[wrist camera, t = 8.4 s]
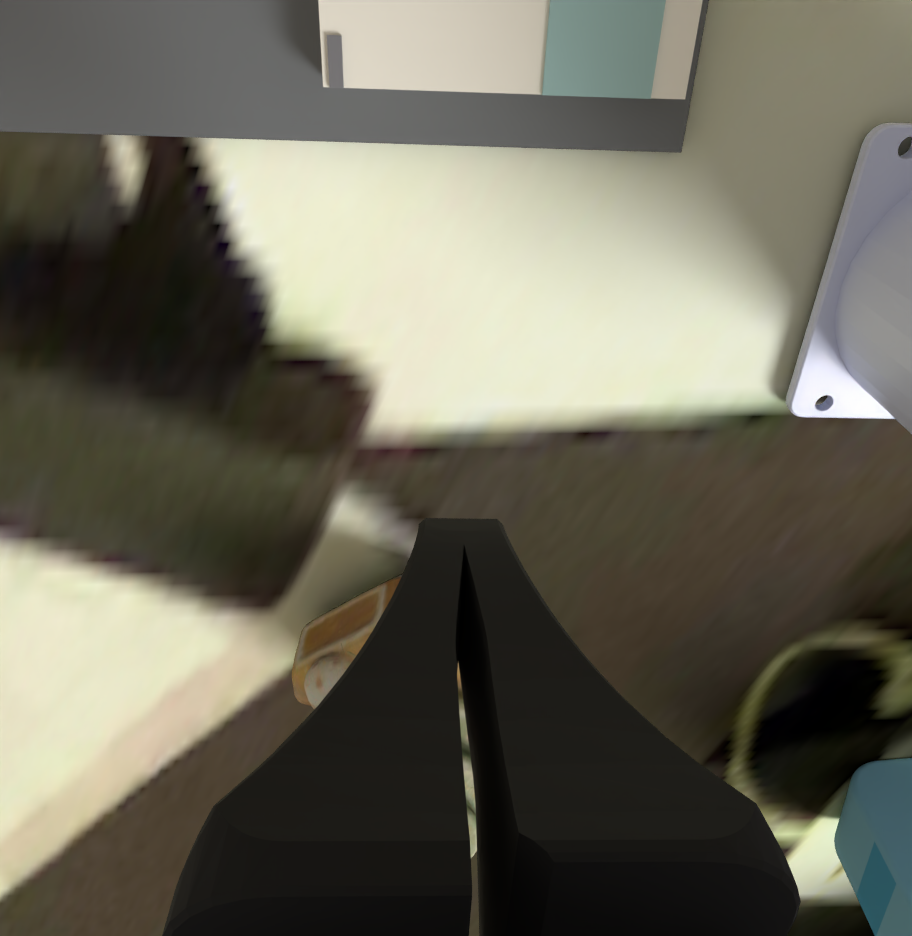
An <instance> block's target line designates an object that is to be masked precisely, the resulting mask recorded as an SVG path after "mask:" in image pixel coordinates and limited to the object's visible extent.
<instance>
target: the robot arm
mask: <svg viewBox="0 0 912 936" xmlns="http://www.w3.org/2000/svg"><path fill="white" fill-rule="evenodd" d="M907 137H911V139H912V123H884V124H880V125H878V126H876V127H875V128H873V129H872V130H871V131H870V132H869V133H868V134H867V135H866V137H865V139H864V141H863V143H862V146H861V149H860V152H859V156H858V159H857V162H856V166H855V169H854V172H853V176H852V179H851V182H850V186H849V189H848V192H847V196H846V199H845V202H844V206H843V209H842V212H841V216H840V219H839V222H838V226H837V229H836V232H835V236H834V239H833V242H832V246H831V249H830V252H829V256H828V259H827V263H826V266H825V269H824V273H823V276H822V279H821V283H820V286H819V289H818V293H817V296H816V299H815V303H814V306H813V309H812V313H811V316H810V319H809V323H808V326H807V329H806V333H805V336H804V339H803V343H802V346H801V349H800V353H799V356H798V359H797V363H796V366H795V369H794V373H793V376H792V379H791V383H790V386H789V389H788V393H787V396H786V405H787V407H788V409H789V410H790V411H791V412H792V413H793V414H794V415H796V416H799V417H820V418H876V419H896V420H897V421H898V422H899V423H900V424H901V425H902V426H903V427H905V428H906V429H907V430H908V431H909V432H910V433H911V434H912V142H911V146H910V148H909V150H908V151H907V152H906V153H905V154H903V155H901V156H899V155H898V147H899V145H900V144H901V142H902V141H903V140H904V139H906V138H907ZM825 395H827V399H826V400H825V401H824V402H823V403H822V404H819V405H815V403H816V401H817V400H818V399H819V398H820V397H822V396H825ZM458 663H459V671H460V679H461V687H462V695H463V703H464V710H465V718H466V726H467V734H468V741H469V749H470V757H471V765H472V772H473V782H474V793H475V807H476V836H477V866H478V899H479V934H480V936H787V934H788V932H789V930H790V928H791V926H792V924H793V922H794V920H795V919H796V916H797V912H798V909H799V905H800V902H801V901H800V897H799V893H798V888H797V885H796V882H795V880H794V877H793V875H792V872H791V870H790V867H789V865H788V862H787V860H786V858H785V856H784V853H783V852H782V850H781V848H780V846H779V844H778V842H777V840H776V838H775V837H774V835H773V833H772V831H771V829H770V827H769V826H768V824H767V822H766V820H765V818H764V817H763V815H762V813H761V811H760V809H759V808H758V806H757V804H756V803H755V802H753V801H752V800H750V799H749V798H747V797H746V796H745V795H743V794H742V793H740V792H739V791H737V790H736V789H735V788H733V787H732V786H730V785H729V784H727V783H726V782H725V781H723V780H722V779H720V778H719V777H717V776H716V775H715V774H713V773H712V772H710V771H709V770H707V769H706V768H705V767H703V766H702V765H700V764H699V763H698V762H696V761H695V760H694V759H692V758H691V757H690V756H689V755H688V754H686V753H685V752H684V751H683V750H681V749H680V748H679V747H678V746H676V745H675V744H674V743H673V742H671V741H670V740H669V739H668V738H666V737H665V736H664V735H663V734H662V733H661V732H660V731H659V730H658V729H657V728H655V727H654V726H653V725H652V724H651V723H650V722H649V721H648V720H647V719H646V718H645V717H643V716H642V715H641V714H640V713H639V712H638V711H637V710H636V709H635V708H634V707H633V706H631V705H630V704H629V703H628V702H627V701H626V700H625V699H624V698H623V697H622V696H621V695H620V694H619V693H618V692H617V691H616V690H615V688H614V687H613V686H612V685H611V684H610V683H609V682H608V681H607V680H606V679H605V678H604V677H603V676H602V675H601V674H600V672H599V671H598V670H597V669H596V668H595V667H594V666H593V665H592V663H591V662H590V661H589V660H588V659H587V658H586V656H585V655H584V654H583V653H582V652H581V650H580V649H579V648H578V647H577V645H576V644H575V643H574V642H573V640H572V639H571V638H570V636H569V635H568V634H567V632H566V631H565V630H564V628H563V627H562V626H561V624H560V623H559V622H558V620H557V619H556V618H555V616H554V615H553V613H552V612H551V610H550V609H549V607H548V606H547V605H546V603H545V601H544V600H543V598H542V597H541V595H540V594H539V592H538V590H537V589H536V587H535V586H534V584H533V583H532V581H531V579H530V578H529V576H528V574H527V573H526V571H525V569H524V567H523V566H522V564H521V562H520V560H519V558H518V557H517V555H516V553H515V551H514V549H513V547H512V545H511V543H510V541H509V539H508V536H507V534H506V532H505V529H504V527H503V525H502V524H501V523H500V522H499V521H498V520H497V519H448V518H426V519H424V520H423V521H422V522H421V523H419V528H418V534H417V538H416V541H415V545H414V548H413V550H412V553H411V556H410V558H409V561H408V563H407V566H406V568H405V571H404V573H403V575H402V577H401V579H400V581H399V583H398V585H397V587H396V589H395V592H394V594H393V596H392V598H391V600H390V601H389V603H388V605H387V607H386V609H385V610H384V612H383V614H382V615H381V617H380V619H379V621H378V622H377V624H376V626H375V628H374V629H373V631H372V633H371V634H370V636H369V637H368V639H367V641H366V642H365V644H364V645H363V647H362V648H361V650H360V651H359V653H358V654H357V656H356V657H355V658H354V660H353V661H352V663H351V664H350V665H349V667H348V668H347V670H346V671H345V672H344V674H343V675H342V676H341V678H340V679H339V680H338V681H337V683H336V684H335V685H334V686H333V688H332V689H331V690H330V691H329V693H328V694H327V695H326V696H325V698H324V699H323V700H322V701H321V702H320V704H319V705H318V706H317V707H316V708H315V709H314V711H313V712H312V713H311V714H310V715H309V716H308V717H307V718H306V720H305V721H304V722H303V723H302V724H301V725H300V726H299V727H298V728H297V729H296V730H295V731H294V732H293V733H292V734H291V735H290V736H289V737H288V738H287V739H286V740H285V741H284V742H283V743H282V744H281V745H280V746H279V747H278V748H277V750H276V751H275V752H274V753H273V754H272V755H271V756H270V757H268V758H267V759H266V760H265V761H264V762H263V763H262V764H261V765H260V766H259V767H258V768H257V769H255V770H254V771H253V772H252V773H251V774H250V775H249V776H247V777H246V778H245V779H244V780H243V781H242V782H241V783H239V784H238V785H237V786H236V787H235V788H234V789H233V790H231V791H230V792H229V793H228V794H227V795H226V796H225V797H223V798H222V799H221V800H220V801H219V802H218V803H216V804H215V805H214V806H213V808H212V810H211V812H210V813H209V815H208V817H207V819H206V821H205V823H204V825H203V827H202V829H201V831H200V832H199V834H198V836H197V839H196V841H195V843H194V845H193V847H192V849H191V851H190V853H189V856H188V858H187V861H186V863H185V866H184V868H183V870H182V873H181V875H180V878H179V881H178V883H177V886H176V889H175V893H174V896H173V900H172V903H171V907H170V910H169V914H168V917H167V921H166V924H165V928H164V932H163V935H162V936H469V924H470V912H471V900H472V876H471V852H470V835H469V825H468V815H467V804H466V792H465V781H464V769H463V756H462V742H461V728H460V714H459V697H458V681H457V670H458Z"/></svg>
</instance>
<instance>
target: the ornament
mask: <svg viewBox="0 0 912 936" xmlns="http://www.w3.org/2000/svg"><path fill="white" fill-rule="evenodd" d="M401 577H402V575H399V576H397V577H395V578H393V579H391V580H389V581H387V582H384V583H382V584H380V585H378V586H376V587H374V588H372V589H370V590H368V591H366V592H364V593H362V594H360V595H358V596H357V597H355V598H353V599H351V600H349V601H347V602H346V603H344V604H342V605H340V606H338V607H336V608H335V609H333V610H331V611H329V612H327V613H325V614H323V615H321V616H319V617H318V618H316V619H315V620H313V621H311V622H310V623H308V624H307V625H306V626H305V627H304V629H303V630H302V633H301V636H300V640H299V644H298V647H297V651H296V654H295V659H294V664H293V669H292V681H293V688H294V694H295V697H296V698H297V700H298V701H299V702H301V703H302V704H306V705H310V706H312V707H313V708H314V709H315V708H316V707H317V706H318V705H319V704H320V702H321V701H322V700H323V699H324V698H325V696H326V695H327V694H328V693H329V691H330V690H331V689H332V688H333V686H334V685H335V684H336V683H337V681H338V680H339V679H340V678H341V676H342V675H343V674H344V672H345V671H346V670H347V668H348V667H349V665H350V664H351V663H352V661H353V660H354V658H355V657H356V656H357V654H358V653H359V651H360V650H361V648H362V647H363V645H364V644H365V642H366V641H367V639H368V637H369V636H370V634H371V633H372V631H373V629H374V628H375V626H376V624H377V622H378V621H379V619H380V617H381V615H382V614H383V612H384V610H385V609H386V607H387V605H388V603H389V601H390V600H391V598H392V596H393V594H394V592H395V589H396V587H397V585H398V583H399V581H400V579H401ZM457 681H458V697H459V714H460V728H461V742H462V756H463V769H464V781H465V792H466V804H467V815H468V825H469V835H470V852H471V857H472V856H473V855H474V854H475V852H476V851H477V836H476V807H475V793H474V782H473V772H472V765H471V757H470V749H469V741H468V734H467V726H466V718H465V710H464V703H463V695H462V687H461V679H460V671H459V663H458V670H457Z"/></svg>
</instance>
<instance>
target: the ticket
mask: <svg viewBox="0 0 912 936" xmlns="http://www.w3.org/2000/svg"><path fill="white" fill-rule="evenodd" d="M702 2H703V0H318V4H319V22H320V40H321V58H322V76H323V87H329V88H361V89H390V90H420V91H449V92H479V93H508V94H538V95H551V96H581V97H610V98H640V99H651V98H656V99H685V97H686V92H687V86H688V80H689V75H690V69H691V64H692V58H693V52H694V47H695V41H696V35H697V30H698V24H699V18H700V13H701V7H702Z"/></svg>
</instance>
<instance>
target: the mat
mask: <svg viewBox="0 0 912 936" xmlns="http://www.w3.org/2000/svg"><path fill="white" fill-rule="evenodd" d="M708 2H709V0H703V2H702V7H701V13H700V18H699V24H698V30H697V35H696V41H695V47H694V52H693V58H692V64H691V69H690V75H689V80H688V86H687V92H686V97H685V99H656V98H651V99H640V98H610V97H581V96H551V95H538V94H508V93H479V92H449V91H420V90H390V89H361V88H329V87H323V76H322V58H321V40H320V22H319V4H318V0H0V131H9V132H41V133H73V134H105V135H137V136H169V137H201V138H233V139H265V140H297V141H329V142H361V143H393V144H425V145H457V146H489V147H521V148H553V149H585V150H617V151H649V152H681V151H682V146H683V140H684V135H685V129H686V123H687V118H688V112H689V107H690V101H691V96H692V90H693V85H694V79H695V74H696V68H697V63H698V57H699V52H700V46H701V41H702V35H703V30H704V24H705V19H706V13H707V7H708Z"/></svg>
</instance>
